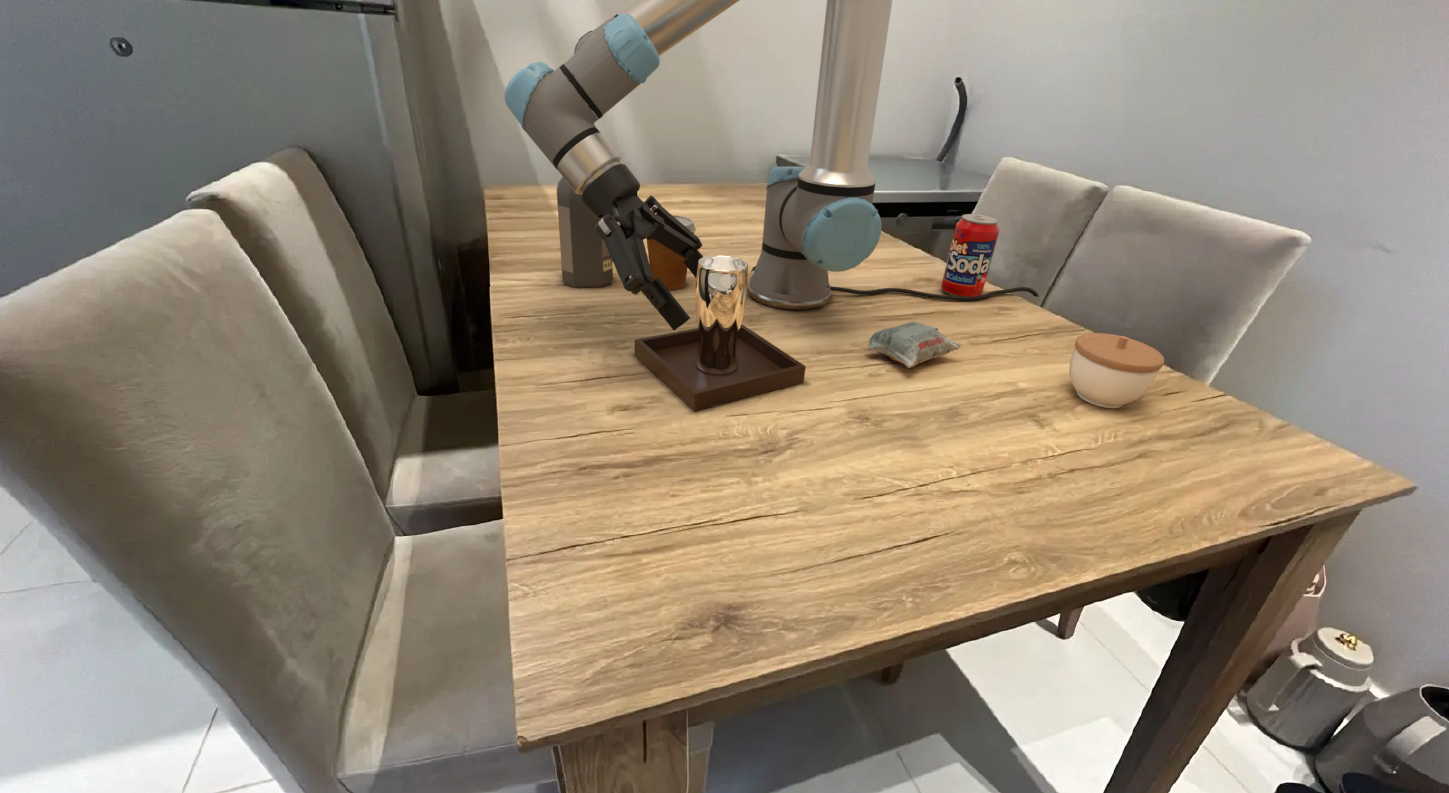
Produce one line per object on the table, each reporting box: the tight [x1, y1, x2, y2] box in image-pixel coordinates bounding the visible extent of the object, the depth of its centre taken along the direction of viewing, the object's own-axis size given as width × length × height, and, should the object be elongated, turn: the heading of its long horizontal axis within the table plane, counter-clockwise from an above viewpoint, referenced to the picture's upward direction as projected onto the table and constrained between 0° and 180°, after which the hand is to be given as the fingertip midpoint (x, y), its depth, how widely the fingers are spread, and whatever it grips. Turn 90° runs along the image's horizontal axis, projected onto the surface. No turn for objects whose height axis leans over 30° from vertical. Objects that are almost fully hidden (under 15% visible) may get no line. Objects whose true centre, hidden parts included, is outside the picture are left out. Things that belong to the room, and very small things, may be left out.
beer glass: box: [694, 254, 749, 375], centre depth 86 cm, size 7×7×15 cm
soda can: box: [940, 213, 1000, 297], centre depth 121 cm, size 8×8×15 cm
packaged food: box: [867, 321, 962, 369], centre depth 96 cm, size 9×12×5 cm
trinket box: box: [1068, 332, 1165, 409], centre depth 87 cm, size 11×11×9 cm
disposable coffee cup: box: [646, 214, 697, 291], centre depth 116 cm, size 10×10×12 cm
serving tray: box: [634, 323, 807, 412], centre depth 89 cm, size 18×18×3 cm
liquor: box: [556, 176, 614, 288], centre depth 111 cm, size 9×9×30 cm
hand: (701, 307), depth 86 cm, fingers open, 13 cm apart
